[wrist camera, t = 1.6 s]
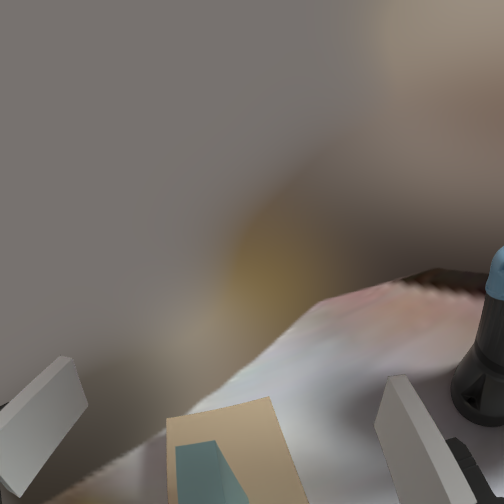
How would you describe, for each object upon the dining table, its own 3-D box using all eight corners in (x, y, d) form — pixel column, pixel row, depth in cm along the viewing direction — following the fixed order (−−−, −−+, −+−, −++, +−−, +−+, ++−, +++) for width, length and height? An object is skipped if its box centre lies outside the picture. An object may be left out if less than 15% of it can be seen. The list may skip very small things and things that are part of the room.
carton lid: (319, 530, 17) (317, 487, 13) (173, 554, 16) (103, 515, 11) (269, 398, 36) (252, 323, 32) (168, 420, 34) (130, 350, 30)
